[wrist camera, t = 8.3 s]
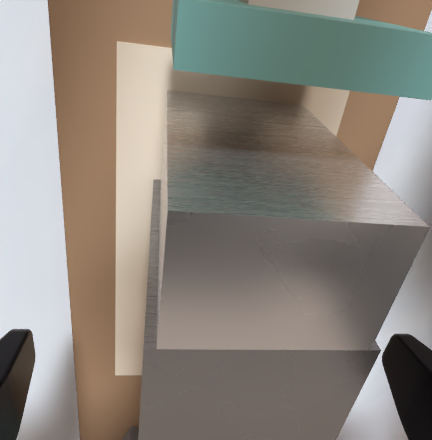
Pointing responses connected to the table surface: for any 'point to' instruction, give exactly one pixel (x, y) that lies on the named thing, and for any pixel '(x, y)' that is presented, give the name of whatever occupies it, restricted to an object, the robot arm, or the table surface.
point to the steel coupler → (264, 273)
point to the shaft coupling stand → (154, 132)
